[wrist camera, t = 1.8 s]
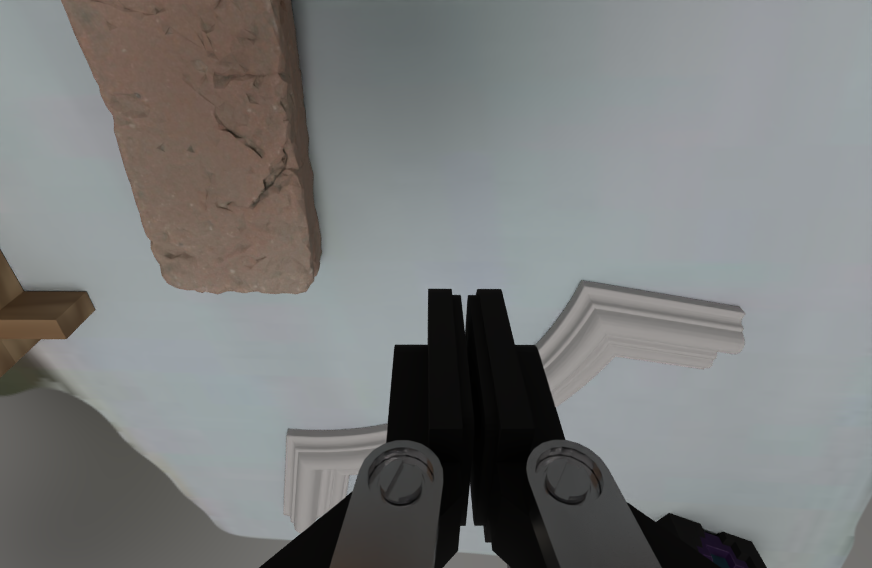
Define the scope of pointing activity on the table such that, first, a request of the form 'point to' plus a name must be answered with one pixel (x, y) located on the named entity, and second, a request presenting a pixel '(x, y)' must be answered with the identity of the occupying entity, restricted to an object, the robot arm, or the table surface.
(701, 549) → the energy cube
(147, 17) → the brick
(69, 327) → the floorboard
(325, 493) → the molding
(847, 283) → the table surface
